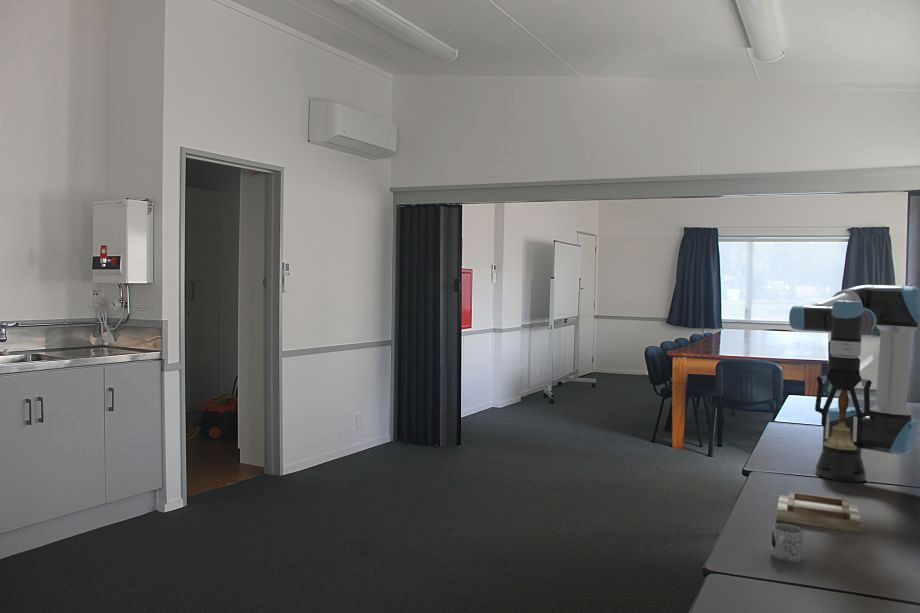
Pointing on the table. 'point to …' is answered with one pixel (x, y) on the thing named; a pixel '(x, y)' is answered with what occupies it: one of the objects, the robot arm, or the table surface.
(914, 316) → the robot arm
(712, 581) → the table surface
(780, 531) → the mug
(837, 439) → the hand bell
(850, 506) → the stand
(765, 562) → the table surface
